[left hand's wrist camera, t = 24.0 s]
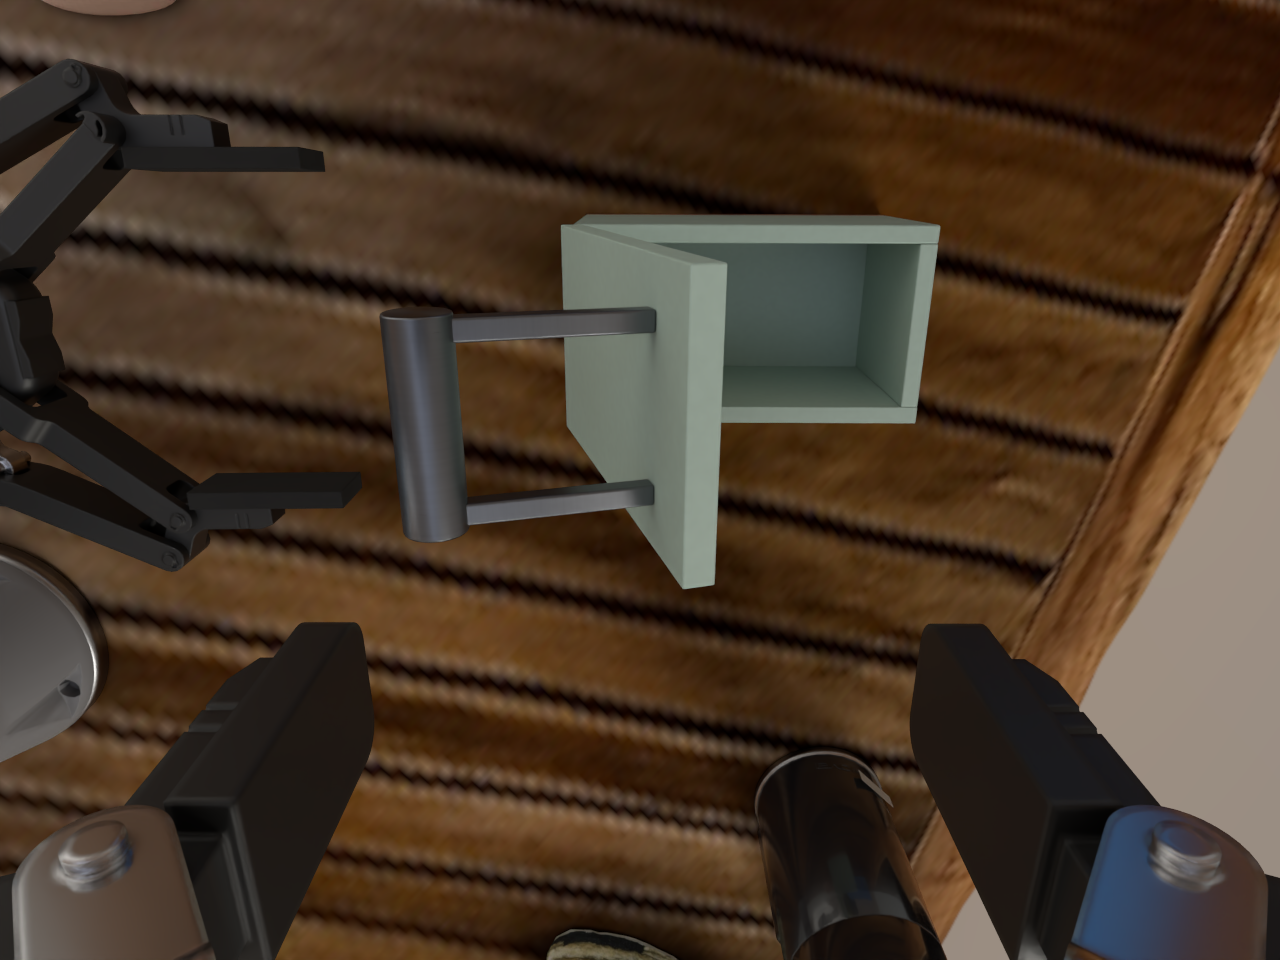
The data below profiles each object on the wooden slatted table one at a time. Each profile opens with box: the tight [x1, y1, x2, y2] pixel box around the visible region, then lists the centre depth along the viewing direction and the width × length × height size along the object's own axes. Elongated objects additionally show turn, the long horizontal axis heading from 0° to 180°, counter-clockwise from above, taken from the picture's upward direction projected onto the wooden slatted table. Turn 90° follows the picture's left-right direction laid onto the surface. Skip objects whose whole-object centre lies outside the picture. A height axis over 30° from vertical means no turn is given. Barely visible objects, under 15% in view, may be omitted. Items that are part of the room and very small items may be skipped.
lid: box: [380, 225, 727, 589], centre depth 29 cm, size 17×9×9 cm
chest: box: [574, 214, 940, 423], centre depth 43 cm, size 17×9×10 cm, turn 90°
